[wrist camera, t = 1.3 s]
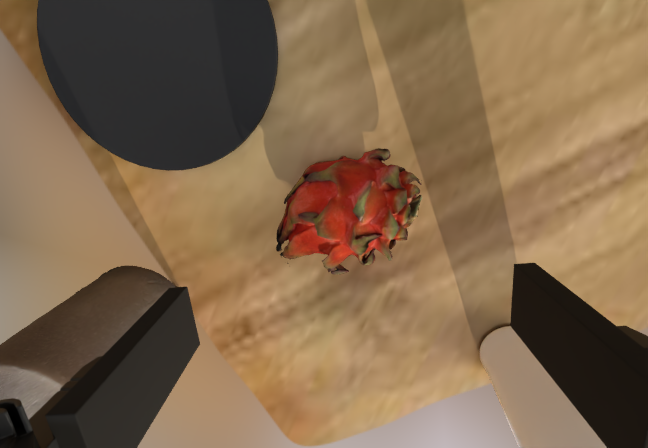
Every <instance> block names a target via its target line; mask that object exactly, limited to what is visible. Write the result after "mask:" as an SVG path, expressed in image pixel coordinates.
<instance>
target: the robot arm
mask: <svg viewBox="0 0 648 448" xmlns="http://www.w3.org/2000/svg"><path fill="white" fill-rule="evenodd" d="M510 326H511V327H512V329H513V330H514V331H515V332H516V334H517V335H518V336H519V337H520V339H521V340H522V341H523V343H524V344H525V345H526V346H527V348H528V349H529V350H530V351H531V353H532V354H533V355H534V356H535V358H536V359H537V360H538V361H539V363H540V364H541V365H542V366H543V368H544V369H545V370H546V371H547V373H548V374H549V375H550V377H551V378H552V379H553V380H554V382H555V383H556V384H557V385H558V387H559V388H560V389H561V390H562V392H563V393H564V394H565V395H566V397H567V398H568V399H569V400H570V402H571V403H572V404H573V405H574V407H575V408H576V409H577V410H578V412H579V413H580V414H581V416H582V417H583V418H584V419H585V421H586V422H587V423H588V424H589V426H590V427H591V428H592V429H593V431H594V432H595V433H596V434H597V436H598V437H599V438H600V439H601V441H602V442H603V443H604V444H605V446H606V447H607V448H648V336H646V335H644V334H642V333H640V332H638V331H636V330H633V329H631V328H629V327H627V326H615V325H614V324H613V323H611V322H610V321H609V320H608V319H606V318H605V317H604V316H602V315H601V314H600V313H599V312H597V311H596V310H595V309H593V308H592V307H591V306H590V305H588V304H587V303H586V302H584V301H583V300H582V299H581V298H579V297H578V296H577V295H575V294H574V293H573V292H572V291H570V290H569V289H568V288H566V287H565V286H564V285H563V284H561V283H560V282H559V281H557V280H556V279H555V278H554V277H552V276H551V275H550V274H548V273H547V272H546V271H545V270H543V269H542V268H541V267H539V266H538V265H537V264H535V263H525V264H514V276H513V292H512V308H511V325H510ZM199 345H200V342H199V337H198V333H197V328H196V324H195V320H194V315H193V311H192V306H191V302H190V297H189V293H188V289H187V287H174V288H169V289H168V290H167V291H166V292H165V293H164V294H163V295H162V296H161V297H160V298H159V299H158V300H157V301H156V302H155V303H154V304H153V305H152V306H151V307H150V308H149V309H148V310H147V311H146V312H145V313H144V314H143V315H142V316H141V317H140V318H139V319H138V320H137V321H136V322H135V323H134V324H133V325H132V327H131V328H130V329H129V330H128V331H127V332H126V333H125V334H124V335H123V336H122V337H121V338H120V339H119V340H118V341H117V342H116V343H115V344H114V345H113V346H112V347H111V348H110V349H109V350H108V351H107V352H106V353H105V354H104V355H103V356H98V357H97V358H95V359H94V360H92V361H91V362H89V363H88V364H86V365H85V366H83V367H82V368H81V369H80V370H79V371H78V372H77V373H76V374H75V375H74V376H73V377H72V378H71V379H70V381H68V382H66V383H65V384H64V385H63V386H62V387H61V388H60V391H57V392H56V393H55V394H54V395H53V396H52V397H51V398H50V399H49V400H48V401H47V402H46V403H45V404H44V405H43V406H42V407H41V408H40V409H39V410H38V411H37V412H36V413H35V414H34V415H33V416H32V417H31V418H30V419H28V417H27V415H26V412H25V410H24V407H23V405H22V403H21V401H20V400H19V399H15V398H11V399H3V400H0V448H137V447H138V445H139V443H140V442H141V440H142V439H143V437H144V435H145V434H146V432H147V430H148V429H149V427H150V425H151V423H152V422H153V420H154V419H155V417H156V415H157V414H158V412H159V410H160V409H161V407H162V405H163V404H164V402H165V401H166V399H167V397H168V396H169V394H170V392H171V391H172V389H173V387H174V386H175V384H176V382H177V381H178V379H179V377H180V376H181V374H182V373H183V371H184V369H185V368H186V366H187V364H188V363H189V361H190V359H191V358H192V356H193V354H194V353H195V351H196V350H197V348H198V346H199Z"/></svg>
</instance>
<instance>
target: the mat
mask: <svg viewBox="0 0 648 448" xmlns="http://www.w3.org/2000/svg"><path fill="white" fill-rule="evenodd" d="M37 30H38V39H39V46H40V51H41V55H42V59H43V63H44V66H45V69H46V72H47V75H48V77H49V80H50V82H51V84H52V86H53V88H54V90H55V92H56V95H57V96H58V98H59V99H60V101H61V103H62V104H63V106H64V108H65V109H66V110H67V112H68V113H69V114H70V116H71V117H72V118H73V120H74V121H75V122H76V123H77V124H78V125H79V126H80V127H81V128H82V130H83V131H84V132H85V133H86V134H87V135H89V136H90V137H91V138H92V139H93V140H94V141H96V142H97V143H98V144H99V145H101V146H102V147H104V148H105V149H107V150H108V151H110V152H111V153H113V154H115V155H117V156H119V157H121V158H122V159H124V160H127V161H129V162H132V163H135V164H137V165H140V166H144V167H148V168H152V169H160V170H185V169H192V168H197V167H200V166H203V165H207V164H210V163H212V162H214V161H216V160H218V159H221V158H223V157H224V156H226V155H227V154H229V153H230V152H232V151H234V150H235V149H236V148H237V147H238V146H240V145H241V144H242V143H243V142H244V141H245V140H246V139H247V138H248V137H249V136H250V134H251V133H252V132H253V131H254V130H255V128H256V127H257V125H258V124H259V122H260V120H261V119H262V117H263V115H264V113H265V111H266V109H267V107H268V105H269V102H270V99H271V96H272V93H273V90H274V85H275V80H276V75H277V64H278V46H277V35H276V29H275V24H274V19H273V16H272V12H271V9H270V6H269V2H268V0H38V9H37Z"/></svg>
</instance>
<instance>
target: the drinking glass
mask: <svg viewBox="0 0 648 448" xmlns="http://www.w3.org/2000/svg"><path fill="white" fill-rule="evenodd" d="M480 360H481V363H482V365H483V367H484V369H485V370H486V372H487V374H488V376H489V378H490V380H491V383H492V385H493V387H494V389H495V392H496V394H497V396H498V399H499V401H500V404H501V406H502V408H503V411H504V413H505V415H506V418H507V420H508V423H509V425H510V427H511V430H512V432H513V435H514V437H515V439H516V442H517V444H518V447H519V448H607V447H606V446H605V444H604V443H603V442H602V441H601V439H600V438H599V437H598V436H597V434H596V433H595V432H594V431H593V429H592V428H591V427H590V426H589V424H588V423H587V422H586V421H585V419H584V418H583V417H582V416H581V414H580V413H579V412H578V410H577V409H576V408H575V407H574V405H573V404H572V403H571V402H570V400H569V399H568V398H567V397H566V395H565V394H564V393H563V392H562V390H561V389H560V388H559V387H558V385H557V384H556V383H555V382H554V380H553V379H552V378H551V377H550V375H549V374H548V373H547V371H546V370H545V369H544V368H543V366H542V365H541V364H540V363H539V361H538V360H537V359H536V358H535V356H534V355H533V354H532V353H531V351H530V350H529V349H528V348H527V346H526V345H525V344H524V343H523V341H522V340H521V339H520V337H519V336H518V335H517V334H516V332H515V331H514V330H513V329H512V327H511V326H506V327H501V328H498V329H496V330H494V331H492V332H491V333H490V334H488V335H487V336H486V338H485V339H484V340H483V342H482V344H481V347H480Z"/></svg>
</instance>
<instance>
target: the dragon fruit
mask: <svg viewBox="0 0 648 448" xmlns="http://www.w3.org/2000/svg"><path fill="white" fill-rule="evenodd" d="M389 157H390V151H389V150H388V149H375V150H372V151H369V152H365V153H364V155H363V157H362V158H360V159H359V160H353V159H349V158H347V157H345V156H342V157H341V158H339V160H336V161H328V162H318V163H315V164H313V165H311V166H309V167H308V168H307V169H306V170H305V172H304V174H303V176H302V177H301V178H300V180H299V181H298V183H297V184H296V185H295V186H294V188H293V189H292V191H291V192H290V193H289V194H288V195H287V197H286V199H285V201H284V204H286V202H287V206H286V210H285V214H284V217H283V219H282V221H281V223H280V225H279V227H278V230H277V242H278V244H277V247H276V250H277V251H281V250H282V249H281V244H283V243H284V241H286V240H289V243H288V245H287V246H286V247H285V248H284V251H283V252H282V253H281V254H280V255H281V257H282V256H283V257H285V258H288V259H294V258H297V257H301V256H304V255H311V254H313V253H321V254H327V255H328V256H327V257H326V258H325V259H324V260H323V261H322V262H323V264H324V267H325V268H328V272H330V271H331V273H332V274H342V273H346V272H349V270H346V269H345V268H344V267H343V266H342V265H341V264H340V263H341V262H342V261H343V260H345V258H347V257H348V256H349V255H351V254H353V255H355V256H356V257H357V258H358V259H359V262H360V263H361V264H362V265H369V264H370V265H371V264H373V262H374V261H375V255H374V250H375V249H377V250H378V251H380V252H381V253H382V254H383V255H385V256H386V257H387V258H388V260H389V261H390V260H391V259H392V255H391V251H390V249H392V248H393V247H394V246H395V244H396V240H399V241H402V240H407V237H408V232H407V227H409V226H410V225H411V223H412V222H413V220H414V219H415V218H416V216H417V212H418V210H419V207H418V206H419V205H420V202H421V200H422V196H421V195H419V196H418V197H417V198H416V194H419V193H420V190H419V188H418V187H417V186H416V185H413V184H409V183H410V182H412V181H415V180H416V181H418V183H419V184H420V185H421V183H420V182H419V180H418V178H417V177H416V176H415V175H414V174H412V173H410V172H407V171H405V169H404V168H402V167H399V166H396V165H389V166H387V165H385V164H384V163H382V160H383V161H385V160H386V159H388V158H389ZM421 181H422V180H421ZM417 217H418V216H417ZM370 250H371V251H370ZM369 251H370V253H369V255H368V256H367V252H369ZM287 262H288V261H287ZM335 268H336V269H337V270H335V271H333V270H334V269H335Z"/></svg>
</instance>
